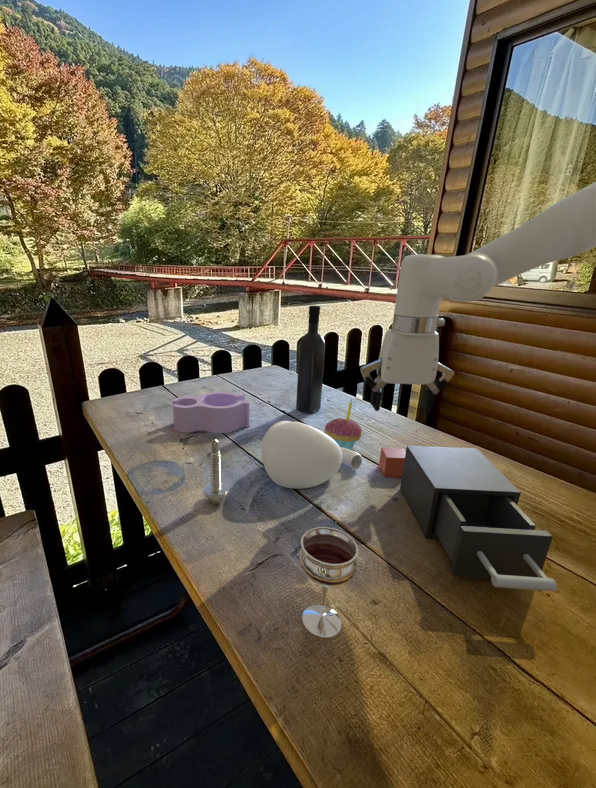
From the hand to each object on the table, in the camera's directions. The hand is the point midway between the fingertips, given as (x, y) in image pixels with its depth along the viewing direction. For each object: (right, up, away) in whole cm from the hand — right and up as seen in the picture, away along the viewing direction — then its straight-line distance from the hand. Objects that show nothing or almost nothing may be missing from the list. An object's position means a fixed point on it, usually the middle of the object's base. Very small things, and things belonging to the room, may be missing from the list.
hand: (400, 409), depth 82 cm
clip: (-39, -5, +29) cm, 49 cm away
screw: (-37, -17, -4) cm, 41 cm away
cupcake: (-8, -10, +15) cm, 20 cm away
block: (0, -13, +5) cm, 14 cm away
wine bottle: (-11, -1, +38) cm, 40 cm away
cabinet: (+5, -18, -9) cm, 21 cm away
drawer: (+3, -22, -21) cm, 31 cm away
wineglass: (-23, -27, -29) cm, 46 cm away
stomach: (-20, -13, +7) cm, 24 cm away
